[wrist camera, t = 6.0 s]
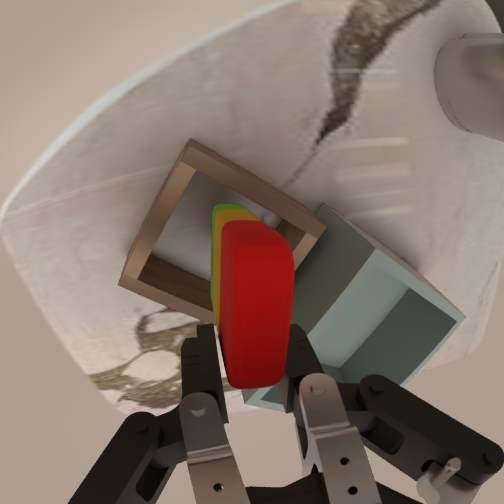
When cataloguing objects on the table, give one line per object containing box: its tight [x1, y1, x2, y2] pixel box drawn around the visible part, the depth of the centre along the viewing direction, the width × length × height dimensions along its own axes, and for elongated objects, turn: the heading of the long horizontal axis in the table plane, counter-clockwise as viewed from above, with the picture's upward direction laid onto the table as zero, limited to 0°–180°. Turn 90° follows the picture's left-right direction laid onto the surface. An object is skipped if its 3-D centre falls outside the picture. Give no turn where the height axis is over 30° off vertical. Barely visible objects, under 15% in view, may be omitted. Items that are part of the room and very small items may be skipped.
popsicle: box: [211, 204, 295, 389], centre depth 16 cm, size 6×15×2 cm
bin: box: [241, 203, 466, 413], centre depth 25 cm, size 14×14×8 cm
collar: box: [118, 139, 326, 326], centre depth 22 cm, size 10×10×4 cm
